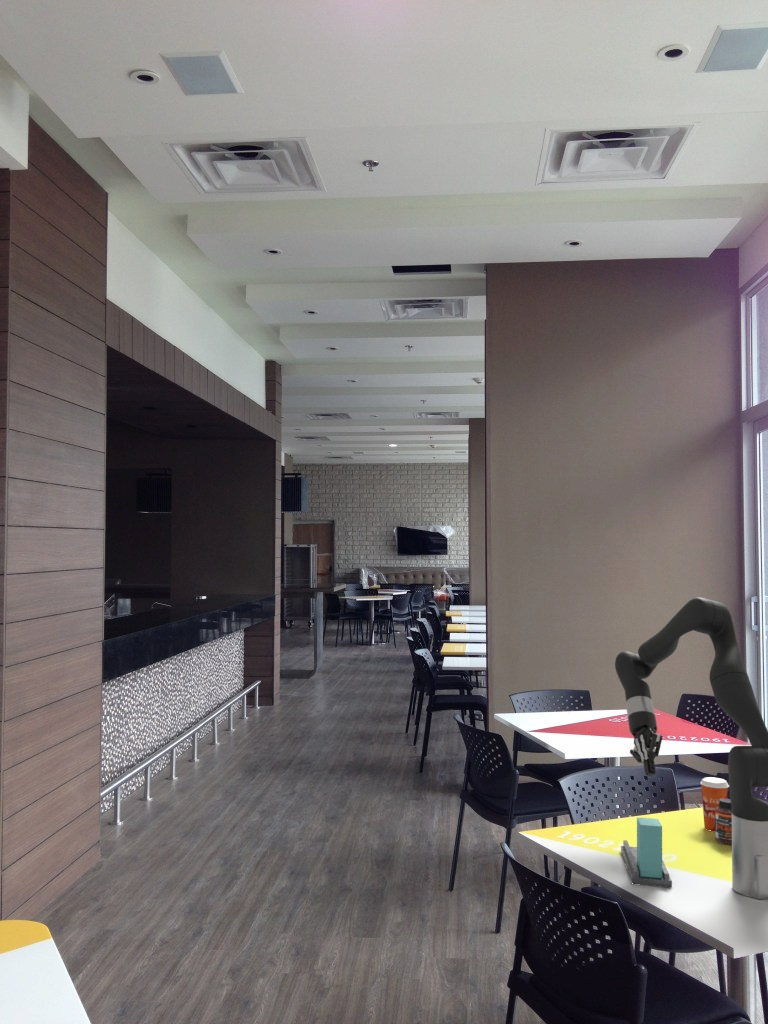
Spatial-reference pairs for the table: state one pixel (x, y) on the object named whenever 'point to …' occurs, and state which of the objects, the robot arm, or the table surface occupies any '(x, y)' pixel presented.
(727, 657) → the robot arm
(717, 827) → the supplement bottle
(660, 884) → the charcoal chute
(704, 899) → the table surface
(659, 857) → the teal block
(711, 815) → the paper cup
